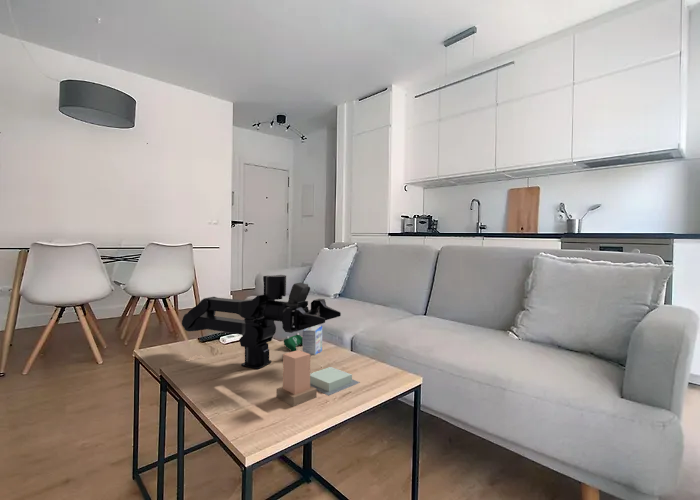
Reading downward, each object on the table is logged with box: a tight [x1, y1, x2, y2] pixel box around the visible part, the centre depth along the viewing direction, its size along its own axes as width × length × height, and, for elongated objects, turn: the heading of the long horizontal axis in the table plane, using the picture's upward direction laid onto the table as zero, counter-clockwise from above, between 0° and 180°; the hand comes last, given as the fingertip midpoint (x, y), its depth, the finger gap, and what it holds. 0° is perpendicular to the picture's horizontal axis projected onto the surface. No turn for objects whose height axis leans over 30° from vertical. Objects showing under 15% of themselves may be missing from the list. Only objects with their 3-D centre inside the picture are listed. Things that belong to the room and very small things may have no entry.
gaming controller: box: [283, 332, 303, 352], centre depth 124 cm, size 9×4×6 cm
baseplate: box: [310, 378, 361, 397], centre depth 91 cm, size 11×11×1 cm
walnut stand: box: [275, 386, 318, 407], centre depth 82 cm, size 6×6×3 cm
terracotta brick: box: [282, 349, 311, 394], centre depth 82 cm, size 4×4×8 cm
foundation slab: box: [310, 366, 353, 392], centre depth 91 cm, size 8×8×2 cm
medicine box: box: [301, 324, 323, 356], centre depth 117 cm, size 8×4×9 cm, turn 168°
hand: (333, 317), depth 96 cm, fingers open, 9 cm apart
